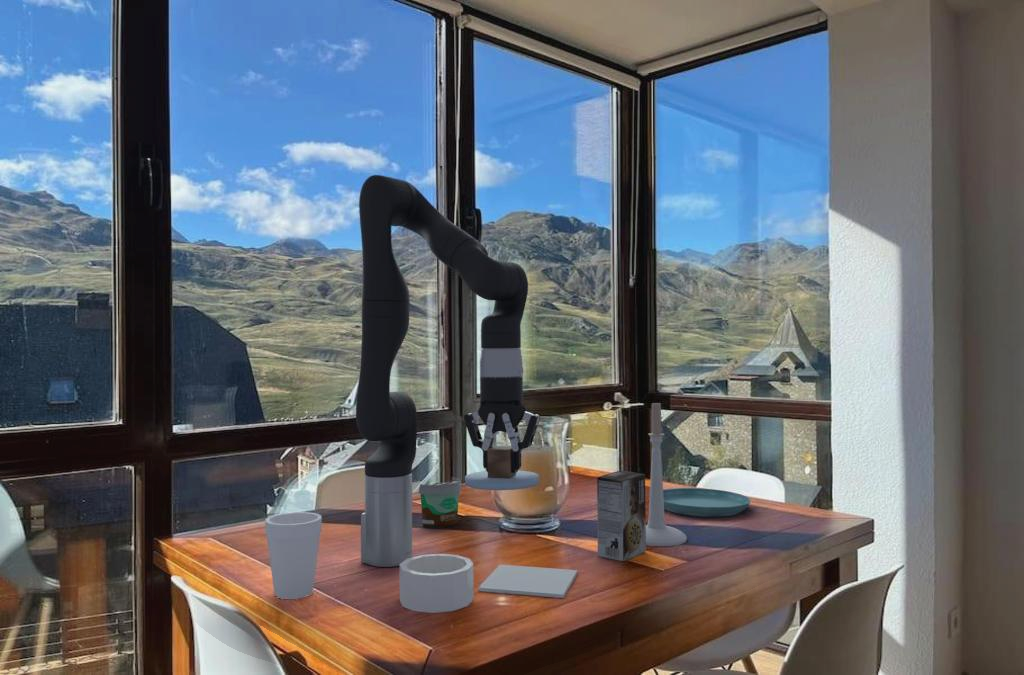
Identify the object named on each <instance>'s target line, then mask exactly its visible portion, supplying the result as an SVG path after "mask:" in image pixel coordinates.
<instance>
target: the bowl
mask: <svg viewBox="0 0 1024 675" xmlns="http://www.w3.org/2000/svg"><path fill="white" fill-rule="evenodd" d="M474 587H475V586H474V563H473V561H472V560H471V559H470V558H469V557H465V556H461V555H458V554H447V553H433V554H431V553H430V554H421V555H418V556H414V557H413V556H412V558H409V559H406V560H405V561H403V562H402V563H401V564H400V565H399V602H400V604H401V607H402V608H405V609H407V610H409V611H412V612H416V613H417V612H419V613H429V614H430V613H431V614H437V613H446V612H455V611H458V610H460V609H463V608H466V607H468V606H469V605H470V604H471V603H472V602H473V601H474V599H475V598H474V595H475V594H474V592H475V591H474Z"/></svg>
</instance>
